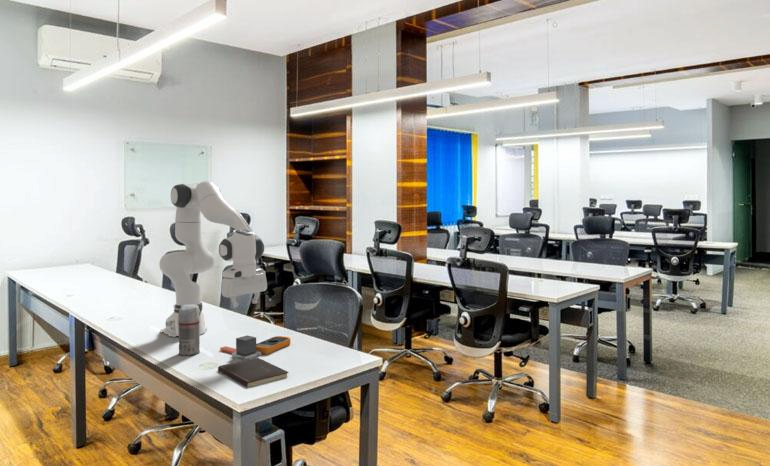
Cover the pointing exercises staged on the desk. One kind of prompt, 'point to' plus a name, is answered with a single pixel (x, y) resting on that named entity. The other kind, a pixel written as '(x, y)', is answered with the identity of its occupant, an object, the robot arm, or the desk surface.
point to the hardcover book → (252, 372)
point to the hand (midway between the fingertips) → (245, 305)
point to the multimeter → (272, 344)
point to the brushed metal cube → (246, 345)
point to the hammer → (240, 356)
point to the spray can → (189, 330)
